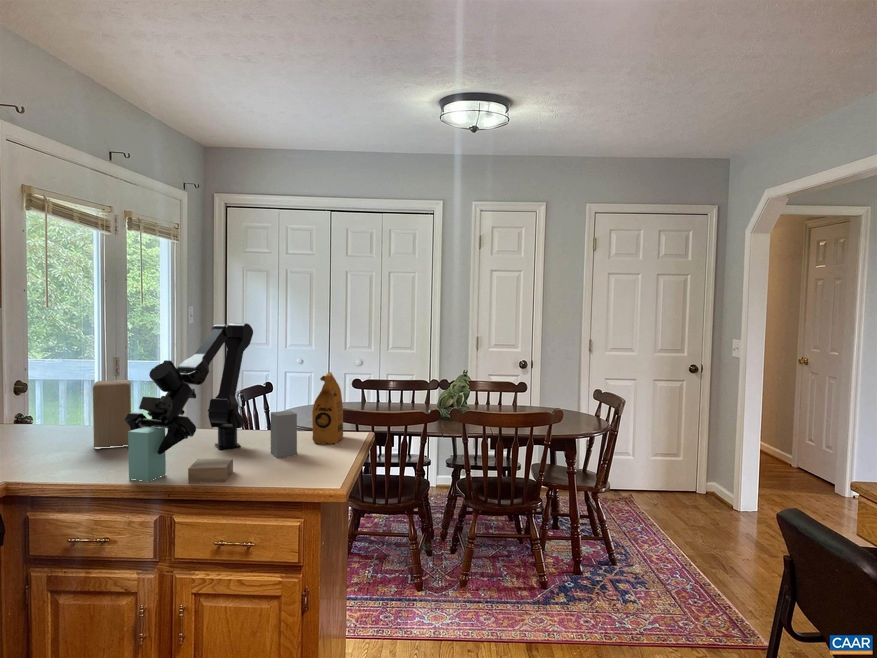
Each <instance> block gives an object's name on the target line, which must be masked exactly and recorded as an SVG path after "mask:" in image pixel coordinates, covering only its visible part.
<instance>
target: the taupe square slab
mask: <svg viewBox="0 0 877 658" xmlns="http://www.w3.org/2000/svg"><path fill="white" fill-rule="evenodd" d="M187 470H188V471H187V483H188V484H203V482H204V484H205V482H206V483H212V484H213V483H226V482H228V480H229V478H230V477H231V475H232V474H233V472H234V458H233V457H226V458H225V457H224V458H197V459H196V460H195V461H194V462H193V463H192V464H191V465H190V466H189V467H188V468H187ZM200 482H202V483H200Z"/></svg>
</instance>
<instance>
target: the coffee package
mask: <svg viewBox="0 0 877 658" xmlns="http://www.w3.org/2000/svg"><path fill="white" fill-rule="evenodd" d="M319 380H320V381H322V382H324V384H323V385H322V388H321V390H320V392H319V394H318V395H317V397H316V399H315V400H314V403H313V407H312V413H311V414H312V415H311V417H312V421H311V422H312V425H311V426H312V441H313V443H314V444H316V443H317V444H320V443H328V444H327V445H333V444H332V443H338V442H339V441H342V440H343V437H344V409H343V408H344V406H343V399H342V398H343V397H342V391H341V387H340V385H339V383H338V382H337V380H336V378H335V376H334V375H333V373H332V372H331V371H329V372H327V373H326V375H322V376H321V377H320V379H319Z"/></svg>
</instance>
